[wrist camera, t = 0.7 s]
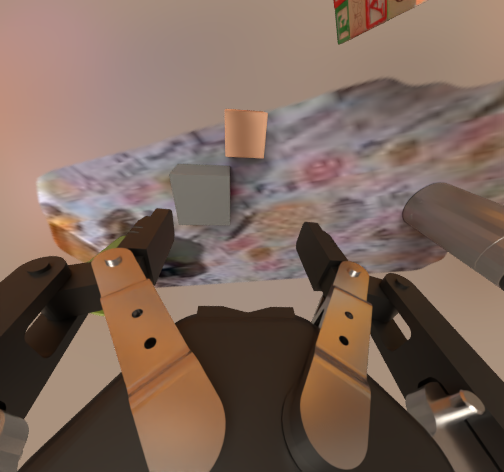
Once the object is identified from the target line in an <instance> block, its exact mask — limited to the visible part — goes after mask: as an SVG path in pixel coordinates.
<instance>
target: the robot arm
mask: <svg viewBox="0 0 504 472" xmlns="http://www.w3.org/2000/svg"><path fill="white" fill-rule="evenodd" d="M403 218H404V220H405V222H406V223H408V224H409V225H411V226H412V227H414V228H415V229H416V230H418V231H419V232H421V233H422V234H423V235H425V236H426V237H428V238H429V239H430V240H432V241H433V242H435V243H436V244H438V245H439V246H440V247H442V248H443V249H445V250H446V251H448V252H449V253H451V254H452V255H453V256H455V257H456V258H458V259H459V260H460V261H462V262H463V263H465V264H466V265H468V266H469V267H470V268H472V269H473V270H475V271H476V272H478V273H479V274H481V275H482V276H484V277H485V278H486V279H488V280H489V281H491V282H492V283H494V284H495V285H496V286H498V287H499V288H501V289H502V290H503V291H504V205H501V204H499V203H496V202H493V201H491V200H488V199H486V198H483V197H481V196H478V195H475V194H473V193H470V192H468V191H465V190H463V189H460V188H457V187H455V186H452V185H450V184H447V183H435V184H432V185H429V186H427V187H425V188H423V189H422V190H420V191H419V192H417V193H416V194H415V195H414V196H413V197H412V198H411V199H410V200H409V202H408V203H407V204H406V206H405V208H404V211H403ZM173 242H174V224H173V215H172V211H171V210H170V209H159V208H157V209H155V211H154V212H153V214H152V215H151V216H145V217H144V218H142V219H140V220H138V221H137V223H136V224H135V225H134V227H133V228H132V229H131V230H130V232H129V233H128V234H127V235H126V236H125V238H124V239H123V240H122V241H121V243H120V244H119V245H118V246H117V248H113V249H109V250H106V251H103V252H101V253H100V254H98V255H97V256H96V257H94V259H93V260H92V262H87V263H81V264H74V265H67V263H66V261H65V260H64V259H63V258H61V257H57V256H49V257H42V258H38V259H35V260H32V261H29V262H27V263H25V264H23V265H21V266H20V267H18V268H17V269H16V270H15V271H13V272H12V273H11V274H10V275H9V276H7V277H6V278H5V279H4V280H3V281H1V282H0V472H504V382H503V381H502V380H501V379H500V378H499V377H498V376H497V374H496V373H495V372H494V371H493V370H492V369H491V368H490V367H489V366H488V365H487V364H486V362H485V361H484V360H483V359H482V358H481V357H480V356H479V355H478V354H477V353H476V352H475V351H474V350H473V348H472V347H471V346H470V345H469V344H468V343H467V342H466V341H465V340H464V339H463V338H462V337H461V335H460V334H459V333H458V332H457V331H456V330H455V329H454V328H453V327H452V326H451V325H450V323H449V322H448V321H447V320H446V319H445V318H444V317H443V316H442V315H441V314H440V313H439V311H438V310H437V309H436V308H435V307H434V306H433V305H432V304H431V303H430V302H429V301H428V300H427V298H426V297H425V296H424V295H423V294H422V293H421V292H420V291H419V290H418V289H417V288H416V286H415V285H414V284H413V283H412V282H410V281H409V280H408V279H406V278H404V277H402V276H400V275H398V274H394V273H388V274H387V275H386V276H385V277H384V278H383V279H379V278H375V277H372V276H369V274H368V272H367V271H366V270H365V269H364V268H363V267H362V266H360V265H359V264H357V263H354V262H351V261H348V260H347V258H346V257H345V256H344V254H343V253H342V251H341V250H340V249H339V247H337V244H336V243H334V240H333V239H332V238H331V236H330V235H328V234H327V233H326V232H325V231H323V230H322V229H321V228H320V226H319V225H318V223H313V222H304V223H303V226H302V228H301V231H300V234H299V237H298V239H297V243H296V250H297V252H298V255H299V257H300V259H301V262H302V264H303V267H304V269H305V271H306V274H307V276H308V278H309V280H310V283H311V285H312V288H313V290H314V291H322V292H323V295H322V297H321V299H320V301H319V304H318V306H317V309H316V311H315V314H314V317H313V319H312V321H311V322H310V321H308V320H306V319H304V318H302V317H299V316H297V315H295V314H294V310H293V307H269V308H265V309H261V310H257V311H253V312H243V311H239V310H235V309H231V308H227V307H224V306H198V311H197V314H194V315H191V316H188V317H185V318H184V319H181V320H179V321H178V322H176V323H174V321H173V320H172V318H171V316H170V314H169V313H168V311H167V309H166V307H165V306H164V304H163V302H162V300H161V298H160V296H159V295H158V293H157V291H156V289H155V287H154V286H153V285H155V284H156V282H157V279H158V277H159V275H160V272H161V270H162V268H163V265H164V263H165V261H166V258H167V256H168V254H169V251H170V249H171V247H172V244H173ZM100 310H103V311H104V315H105V318H106V321H107V325H108V328H109V331H110V335H111V338H112V341H113V345H114V348H115V351H116V354H117V358H118V361H119V364H120V368H121V371H122V372H121V373H120V374H119V375H118V376H117V377H115V378H114V379H113V380H112V381H111V382H110V383H109V384H108V385H107V386H106V387H105V388H104V389H103V390H102V391H101V392H99V394H97V395H96V396H95V397H94V398H93V399H92V400H91V401H90V402H89V403H88V404H87V405H86V406H85V407H84V408H82V409H81V410H80V411H79V412H78V413H77V414H76V415H75V416H74V417H73V418H72V419H71V420H70V421H69V422H68V423H66V424H65V425H64V426H63V427H62V428H61V429H60V430H59V431H58V432H57V433H56V434H55V435H54V436H53V437H52V438H51V439H49V440H48V441H47V442H46V443H45V444H44V445H43V446H42V447H41V448H40V449H39V450H38V451H37V452H36V453H35V454H34V455H33V456H31V457H30V458H29V459H28V460H27V462H26V463H25V464H24V465H23V466H22V467H21V468H20V469H19V470H18V471H17V467H18V461H19V460H20V458H21V456H22V453H23V448H24V446H25V443H26V441H27V438H28V432H29V428H28V424H27V422H26V421H25V420H24V418H25V417H26V415H27V413H28V412H29V410H30V408H31V407H32V405H33V404H34V402H35V400H36V398H37V397H38V395H39V394H40V392H41V390H42V389H43V387H44V386H45V384H46V382H47V381H48V379H49V377H50V376H51V374H52V372H53V371H54V369H55V367H56V365H57V364H58V362H59V361H60V359H61V358H62V356H63V354H64V352H65V351H66V349H67V348H68V346H69V344H70V343H71V341H72V339H73V338H74V336H75V334H76V333H77V331H78V330H79V328H80V326H81V324H82V323H83V321H84V320H85V318H86V317H87V315H88V313H92V312H96V311H100ZM40 312H41V314H40V316H39V317H38V318H37V319H36V321H35V322H34V323H33V325H32V326H31V327H30V328H29V329H28V330H27V328H28V326H29V325H30V324H31V323H32V322H33V320H34V319H35V318H36V317H37V316H38V314H39V313H40ZM398 313H399V314H400V315H401V316H402V318H403V319H404V320H405V322H406V323H407V325H408V326H409V328H410V330H411V337H410V339H409V340H407V339H406V338H405V336H404V335H403V333H402V332H401V330H400V329H399V327H398V326H397V324H396V323H395V321H394V320H393V318H394V316H396V315H397V314H398ZM26 330H27V332H26ZM25 332H26V333H25ZM370 334H371V336H372V338H373V340H374V342H375V343H376V346H377V348H378V349H379V351H380V353H381V355H382V357H383V359H384V361H385V363H386V364H387V366H388V368H389V370H390V372H391V374H392V376H393V377H394V379H395V381H396V383H397V385H398V387H399V389H400V391H401V393H402V394H403V396H404V398H405V400H406V408H407V411H406V410H405V409H404V408H403V407H402V406H401V405H400V404H399V403H398V402H397V401H396V400H395V399H394V398H392V396H390V395H389V394H388V393H387V392H386V391H385V390H384V389H383V388H382V387H381V386H380V385H379V384H378V383H377V382H376V381H374V380H373V379H372V378H371V377H370V376H369V375H368V374H367V366H368V353H369V341H370Z"/></svg>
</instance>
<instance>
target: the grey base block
mask: <svg viewBox="0 0 504 472" xmlns="http://www.w3.org/2000/svg"><path fill="white" fill-rule="evenodd" d="M169 176H170V181H171V187H172V192H173V197H174V202H175V207H176V212H177V217H178V222H179V225H230V166H219V165H194V164H177V165H176V167H175V168H174V169H173V170H172V171H171V172H170V174H169Z"/></svg>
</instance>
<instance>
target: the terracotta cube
mask: <svg viewBox="0 0 504 472" xmlns="http://www.w3.org/2000/svg"><path fill="white" fill-rule="evenodd" d="M267 116H268V113H265V112H263V111H250V110H236V109H225V152H226V157H246V158H264V148H265V138H266V127H267Z"/></svg>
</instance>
